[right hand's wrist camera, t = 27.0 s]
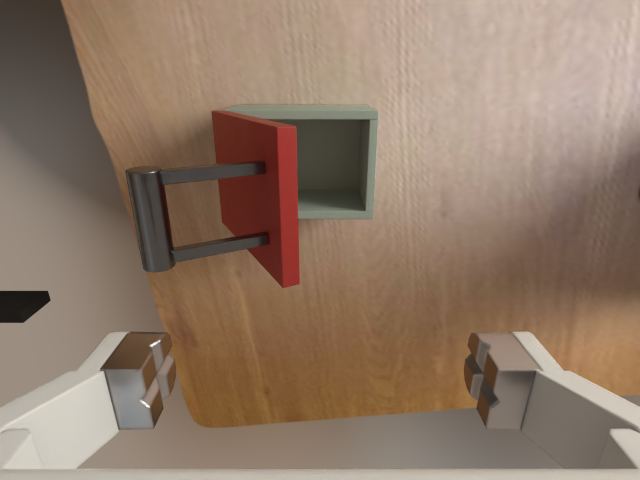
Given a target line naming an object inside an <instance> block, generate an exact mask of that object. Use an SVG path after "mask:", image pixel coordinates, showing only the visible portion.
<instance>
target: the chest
mask: <svg viewBox="0 0 640 480" xmlns="http://www.w3.org/2000/svg"><path fill="white" fill-rule="evenodd" d="M223 110H225V111H230V112H234V113H239V114H243V115H248V116H252V117H257V118H261V119H266V120H270V121H275V122H279V123H284V124H288V125H293V126H296V137H297V187H298V219H373V211H374V193H375V174H376V156H377V138H378V119H379V110H377V109H375V108H373V107H371V106H369V105H266V104H240V105H237V106H233V107H230V108H227V109H223ZM221 111H222V110H221Z"/></svg>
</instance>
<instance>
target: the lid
mask: <svg viewBox="0 0 640 480" xmlns="http://www.w3.org/2000/svg"><path fill="white" fill-rule="evenodd" d="M212 120H213V130H214V141H215V151H216V161H217V164H215V165H204V166H193V167H182V168H171V169H161V168H160V167H157V166H141V167H134V168H130V169H128V170H126V177H127V182H128V188H129V193H130V199H131V204H132V210H133V215H134V221H135V226H136V231H137V237H138V242H139V248H140V253H141V259H142V264H143V268H144V270H145V271H148V272H161V271H165V270H168V269H171V268H172V267H174V266H175V264H176V262H180V261H185V260H190V259H195V258H201V257H206V256H211V255H216V254H222V253H227V252H232V251H237V250H243V249H248V251H249V252H250V253H251V254H252V255H253V256H254V257H255V258H256V259H257V260H258V261H259V263H260V264H261V265H262V266H263V267H264V268H265V269H266V270H267V271H268V272H269V273H270V274H271V276H272V277H273V278H274V279H275V280H276V281H277V282H278V283H279V284H280V285H281V286H282V288H285V287H289V286H293V285H297V284H299V237H298V187H297V137H296V126H293V125H288V124H284V123H279V122H275V121H270V120H266V119H261V118H257V117H252V116H248V115H243V114H239V113H234V112H230V111H225V110H222V111H212ZM213 179H218V182H219V193H220V203H221V214H222V222H223V223H224V224H225V226H226V227H227V228H228V229H229V230H230V231H231V232H232V233H233V234H234V235H235V236H236V237H231V238H225V239H219V240H214V241H208V242H202V243H197V244H191V245H185V246H179V247H174V248H173V241H172V234H171V228H170V221H169V214H168V208H167V201H166V194H165V187H164V185H167V184H176V183H185V182H195V181H204V180H213Z"/></svg>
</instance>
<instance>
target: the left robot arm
mask: <svg viewBox="0 0 640 480" xmlns="http://www.w3.org/2000/svg"><path fill="white" fill-rule="evenodd" d="M49 301H50V297H49V293H48V291H0V323H23V322H25V321H26V320H27V319H28V318H30V317H31V316H32V315H33V314H35V313H36V312H37V311H38V310H40V309H41V308H42V307H43V306H44V305H46V304H47V303H48V302H49Z"/></svg>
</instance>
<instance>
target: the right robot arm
mask: <svg viewBox="0 0 640 480" xmlns="http://www.w3.org/2000/svg"><path fill="white" fill-rule="evenodd" d="M171 347H172V341H171V337H170V335H169V334H168V333H167V332H111V333H108V334H107V335H106V336H105V338H104V339H103V340H102V341H101V342H100V343H99V345H98V346H97V347H96V348H95V349H94V351H93V352H92V353H91V354H90V355H89V356H88V358H87V359H86V360H85V361H84V362H83V364H82V365H81V366H80V367H79V368H78V369H77V371H69V372H67V373H65V374H63V375H61V376H59V377H57V378H56V379H54V380H52V381H50V382H48V383H46V384H44V385H42V386H40V387H38V388H36V389H34V390H32V391H30V392H28V393H26V394H25V395H23V396H21V397H19V398H17V399H15V400H13V401H11V402H9V403H7V404H5V405H3V406H1V407H0V480H640V407H639V406H637V405H635V404H633V403H631V402H629V401H627V400H625V399H623V398H621V397H619V396H617V395H615V394H613V393H612V392H610V391H608V390H606V389H604V388H602V387H600V386H598V385H596V384H594V383H592V382H590V381H588V380H586V379H584V378H582V377H581V376H579V375H577V374H575V373H573V372H571V371H563V369H562V368H561V367H560V366H559V365H558V364H557V362H556V361H555V360H554V359H553V358H552V356H551V355H550V354H549V353H548V352H547V351H546V349H545V348H544V347H543V346H542V345H541V344H540V342H539V341H538V340H537V339H536V338H535V336H534V335H533V334H532V333H530V332H528V331H525V332H506V333H471V335H470V337H469V341H468V347H469V349H470V351H471V354H470V355H469V356H468V357H467V358H466V359H465V365H464V377H465V383H466V386H467V389H468V391H469V393H470V395H471V396H472V397H474V398H475V399H476V400H478V403H477V410H478V412H479V414H480V416H481V418H482V421H483V423H484V425H485V426H486V429H504V430H521V432H522V433H523V434H524V435H525V436H527V437H528V438H529V439H530V440H531V441H532V442H534V443H535V444H536V445H537V446H538V447H540V448H541V449H542V450H543V451H544V452H545V453H547V454H548V455H549V456H550V457H551V458H552V459H554V460H555V461H556V462H557V463H558V464H559V465H561V466H562V467H563V468H564V469H76V468H77V467H78V466H80V465H81V464H82V463H83V462H84V461H85V460H87V459H88V458H89V457H90V456H91V455H92V454H94V453H95V452H96V451H97V450H98V449H99V448H101V447H102V446H103V445H104V444H105V443H107V442H108V441H109V440H110V439H111V438H112V437H114V436H115V435H116V434H117V433H118V432H119V430H136V429H154V427H155V425H156V423H157V421H158V419H159V416H160V414H161V412H162V410H163V403H162V400H164V399H165V398H166V397H168V396H169V395H170V393H171V391H172V389H173V387H174V382H175V377H176V364H175V359H174V358H173V357H172V356H171V355H170V354H169V351H170V349H171Z"/></svg>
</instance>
